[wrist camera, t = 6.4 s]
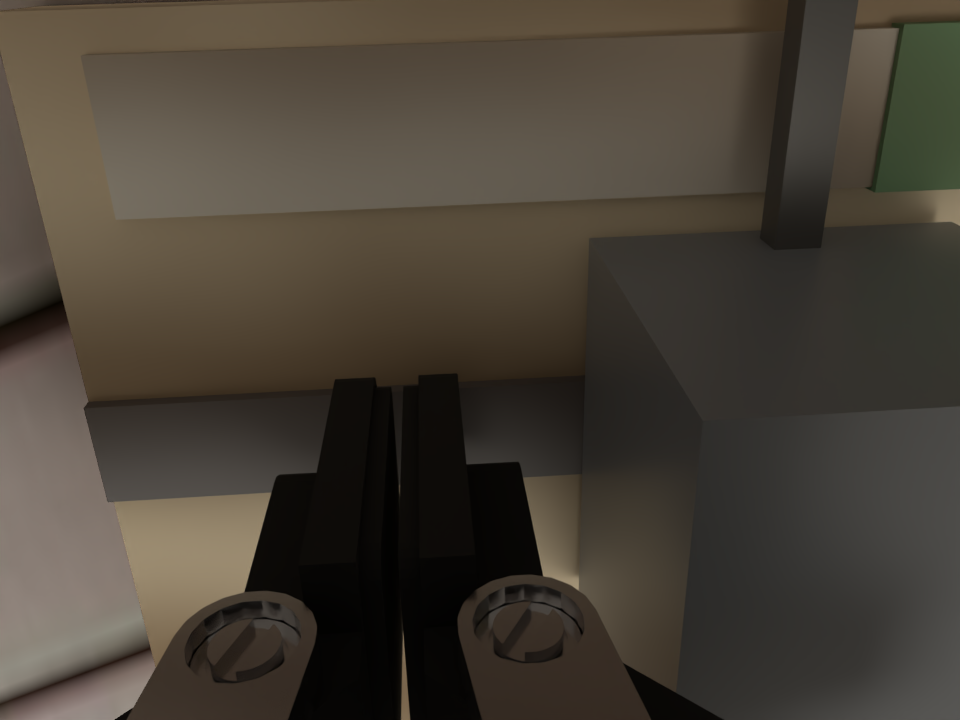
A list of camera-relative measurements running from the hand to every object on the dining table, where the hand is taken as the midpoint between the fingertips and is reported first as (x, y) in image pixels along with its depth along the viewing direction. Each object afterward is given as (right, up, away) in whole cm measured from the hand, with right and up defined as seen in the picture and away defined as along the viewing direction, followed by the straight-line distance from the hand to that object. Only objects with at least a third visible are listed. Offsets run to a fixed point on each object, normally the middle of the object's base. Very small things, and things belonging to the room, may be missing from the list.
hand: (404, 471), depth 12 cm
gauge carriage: (+6, +2, 0) cm, 6 cm away
